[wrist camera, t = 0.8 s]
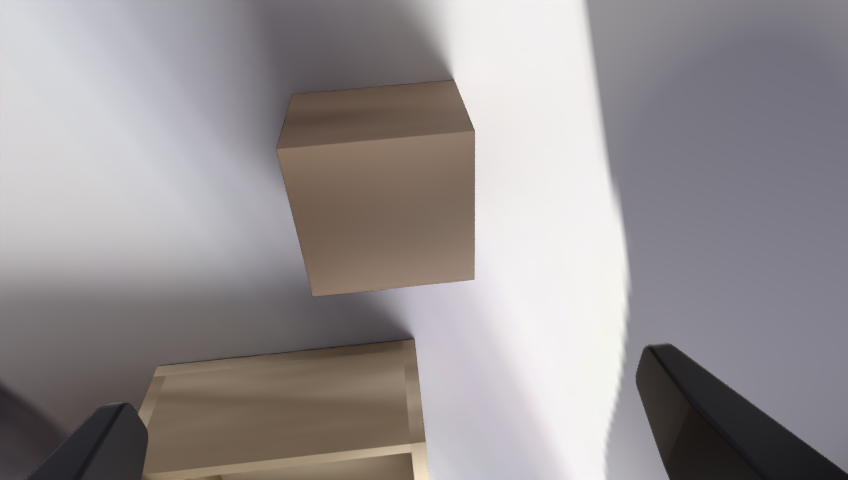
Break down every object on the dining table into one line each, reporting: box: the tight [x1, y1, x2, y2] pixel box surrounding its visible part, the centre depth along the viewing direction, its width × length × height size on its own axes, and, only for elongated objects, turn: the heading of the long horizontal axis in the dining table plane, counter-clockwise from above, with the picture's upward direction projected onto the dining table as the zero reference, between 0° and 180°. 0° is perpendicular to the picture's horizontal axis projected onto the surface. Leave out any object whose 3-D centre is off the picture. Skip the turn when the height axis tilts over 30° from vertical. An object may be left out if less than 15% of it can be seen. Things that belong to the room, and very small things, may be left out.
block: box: [276, 80, 475, 297], centre depth 14 cm, size 4×4×4 cm
